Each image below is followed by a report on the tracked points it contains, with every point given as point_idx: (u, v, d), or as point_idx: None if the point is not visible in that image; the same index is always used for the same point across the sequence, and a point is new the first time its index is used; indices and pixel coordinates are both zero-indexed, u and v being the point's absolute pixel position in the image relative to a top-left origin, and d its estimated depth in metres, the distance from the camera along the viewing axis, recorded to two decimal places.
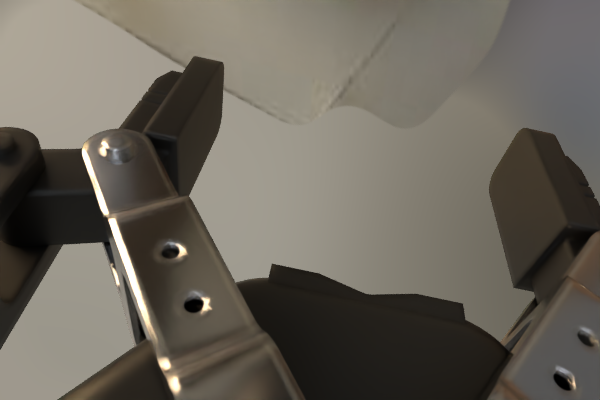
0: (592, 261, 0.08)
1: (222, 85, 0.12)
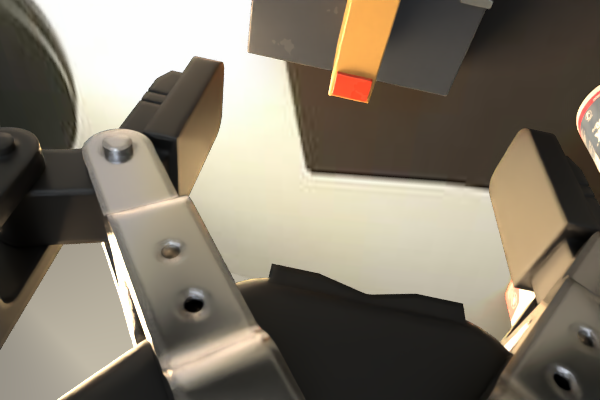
0: (592, 261, 0.08)
1: (222, 85, 0.12)
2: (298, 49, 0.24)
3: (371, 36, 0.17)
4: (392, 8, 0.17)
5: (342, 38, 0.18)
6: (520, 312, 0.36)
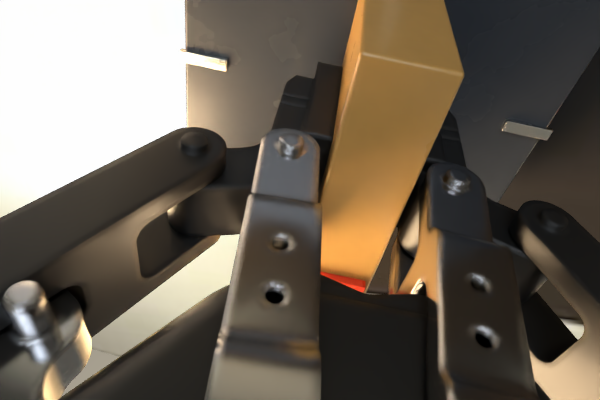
0: (439, 198, 0.09)
1: None
2: None
3: (363, 230, 0.10)
4: (399, 197, 0.09)
5: None
6: None
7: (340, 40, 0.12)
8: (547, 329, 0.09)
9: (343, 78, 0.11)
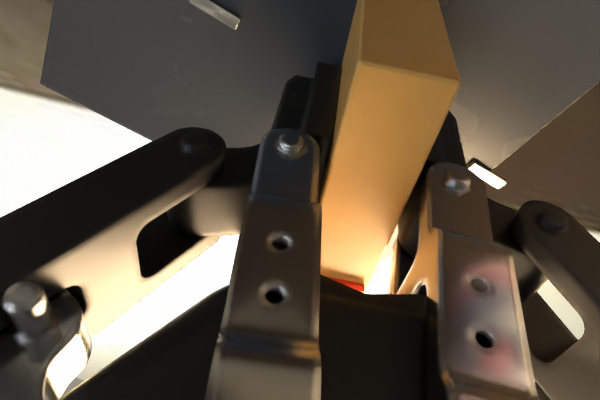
0: (439, 198, 0.09)
1: None
2: None
3: (361, 235, 0.10)
4: (397, 202, 0.10)
5: None
6: None
7: None
8: (547, 329, 0.09)
9: (341, 85, 0.11)
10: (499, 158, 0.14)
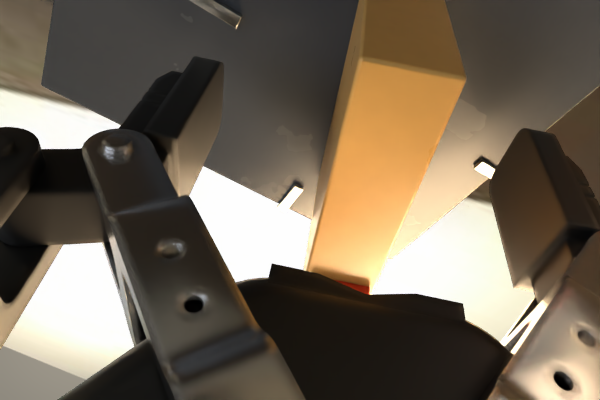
0: (592, 261, 0.08)
1: (222, 85, 0.12)
2: (419, 212, 0.16)
3: (366, 236, 0.10)
4: (402, 202, 0.09)
5: (315, 236, 0.10)
6: None
7: (308, 101, 0.14)
8: None
9: (344, 82, 0.10)
10: None
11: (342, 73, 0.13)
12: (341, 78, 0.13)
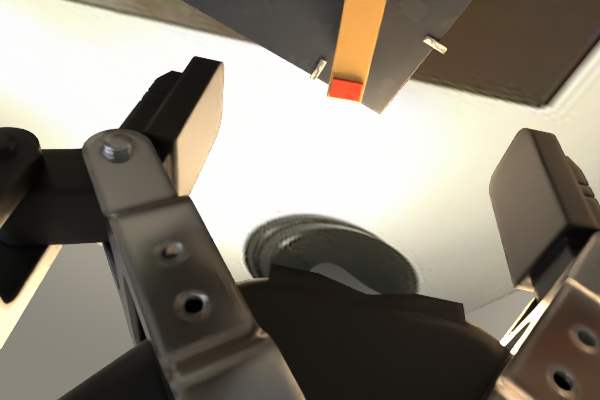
0: (592, 261, 0.08)
1: (222, 85, 0.12)
2: (395, 76, 0.27)
3: (360, 46, 0.21)
4: (375, 24, 0.20)
5: (336, 49, 0.22)
6: None
7: (330, 1, 0.25)
8: None
9: None
10: (441, 32, 0.25)
11: None
12: None
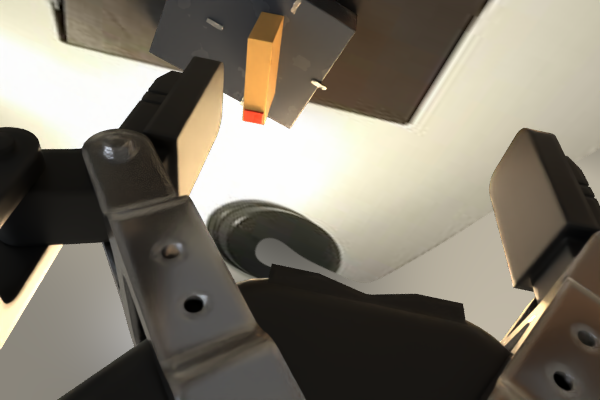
0: (592, 261, 0.08)
1: (222, 85, 0.12)
2: (296, 104, 0.40)
3: (258, 91, 0.34)
4: (266, 79, 0.34)
5: (244, 92, 0.35)
6: None
7: None
8: None
9: None
10: (321, 77, 0.38)
11: None
12: None
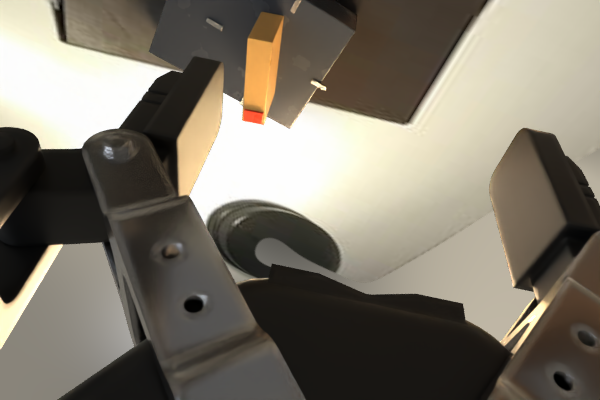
0: (592, 261, 0.08)
1: (222, 85, 0.12)
2: (295, 104, 0.40)
3: (258, 91, 0.34)
4: (265, 78, 0.34)
5: (244, 92, 0.35)
6: None
7: None
8: None
9: None
10: (321, 77, 0.38)
11: None
12: None
